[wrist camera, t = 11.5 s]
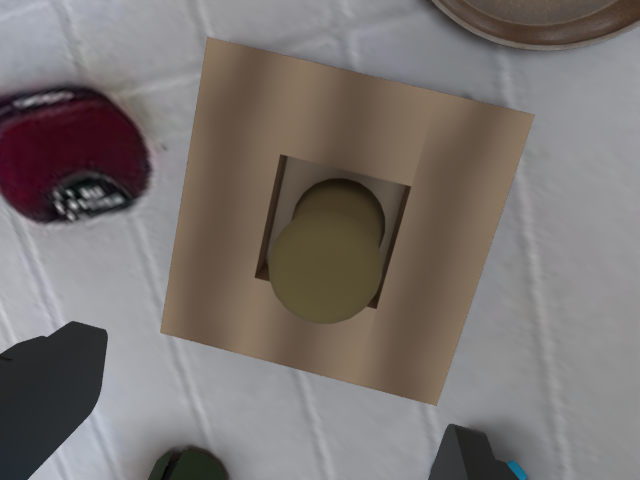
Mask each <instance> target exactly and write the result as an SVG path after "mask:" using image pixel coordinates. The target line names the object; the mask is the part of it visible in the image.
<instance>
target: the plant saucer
mask: <svg viewBox="0 0 640 480" xmlns="http://www.w3.org/2000/svg"><path fill="white" fill-rule="evenodd" d="M432 2H433V3H434V4H435V5H436V6H437V7H438V8H439V9H440V10H441V11H443V12H444V13H445V14H446V15H447V16H448V17H450V18H451V19H452V20H453V21H455V22H456V23H458V24H459V25H460V26H462V27H463V28H465V29H467V30H469V31H470V32H472V33H474V34H476V35H478V36H480V37H482V38H485V39H487V40H490V41H492V42H495V43H498V44H501V45H505V46H509V47H514V48H519V49H526V50H539V51H554V50H567V49H574V48H579V47H584V46H589V45H593V44H597V43H600V42H603V41H606V40H609V39H612V38H614V37H617V36H619V35H621V34H624V33H626V32H629V31H631V30H632V29H634V28H636V27H638V26H640V0H432Z"/></svg>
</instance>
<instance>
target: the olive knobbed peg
mask: <svg viewBox="0 0 640 480" xmlns="http://www.w3.org/2000/svg"><path fill="white" fill-rule="evenodd" d="M384 234H385V215H384V212H383V209H382V206H381V203H380V202H379V200H378V199H377V198H376V196H375V195H374V194H373V192H372V191H371V190H369V189H368V188H366V187H365V186H363V185H362V184H361V183H359V182H356V181H352V180H349V179H346V178H330V179H327V180H324V181H321V182H318V183H315V184H314V185H313V186H312V187H310V188H309V189H308V190H306V191H305V192H304V193H303V195H302V196H301V198H300V199H299V201H298V202H297V204H296V206H295V209H294V213H293V217H292V222H290V223H289V224H288V225H286V226H285V227H284V228H283V229H282V231H281V232H280V234H279V235H278V237H277V238H276V240H275V241H274V243H273V244H272V248H271V252H270V255H269V259H268V265H269V280H270V283H271V285H272V288H273V290H274V293H275V295H276V297H277V298H278V299H279V301H280V302H281V303H282V304H283V306H284V307H285V308H286V309H287V310H288V311H290V312H291V313H293V314H294V315H296V316H297V317H299V318H300V319H303V320H307V321H310V322H313V323H316V324H334V323H338V322H341V321H345V320H348V319H350V318H352V317H353V316H355V315H356V314H358V313H359V312H361V311H362V310H364V309H365V307H366V306H367V305H368V304H369V302H370V301H371V300H372V298H373V297H374V296H375V294H376V293H377V290H378V287H379V284H380V281H381V278H382V259H381V254H380V251H379V248H380V246H381V243H382V240H383V237H384Z"/></svg>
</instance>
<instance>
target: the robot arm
mask: <svg viewBox="0 0 640 480" xmlns="http://www.w3.org/2000/svg"><path fill="white" fill-rule="evenodd" d="M107 341H108V335H107V331H106V330H104V329H101V328H98V327H94V326H90V325H86V324H83V323H79V322H75V321H72V322H69V323H68V324H66V325H65V326H63V327H62V328H60V329H59V330H57V331H56V332H54V333H53V334H51V335H50V336H48V337H45V336H39V337H36V338H33V339H30V340H27V341H23V342H20V343H17V344H15V345H14V346H12V347H11V348H9V349H7V350H6V351H4V352H3V353H1V354H0V480H28V479H29V477H30V476H31V475H32V474H33V473H34V472H35V471H36V470H37V469H38V468H39V467H40V466H41V465H42V464H43V463H44V462H45V461H46V460H47V459H48V458H49V457H50V456H51V455H52V454H53V452H54V451H55V450H56V449H57V448H58V447H59V446H60V445H61V444H62V443H63V442H64V441H65V440H66V439H67V438H68V437H69V436H70V435H71V434H72V433H73V432H74V431H75V430H76V429H77V428H78V426H79V425H80V424H81V423H82V422H83V421H84V420H85V419H86V418H87V417H88V416H89V415H90V413H91V412H92V410H93V409H94V407H95V405H96V403H97V401H98V398H99V395H100V392H101V387H102V379H103V372H104V364H105V356H106V349H107ZM428 480H520V479H519V478H518V477H517V476H516V475H515V473H514V472H513V471H512V470H511V469H510V467H509V466H508V465H507V464H506V463H505V462H501V461H498V460H495V458H494V456H493V453H492V450H491V447H490V444H489V442H488V439H487V436H486V434H485V433H484V432H480V431H476V430H473V429H469V428H465V427H462V426H458V425H454V424H449V425H448V427H447V428H446V430H445V433H444V436H443V439H442V441H441V444H440V447H439V450H438V453H437V456H436V459H435V461H434V464H433V467H432V470H431V473H430V476H429V479H428Z"/></svg>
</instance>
